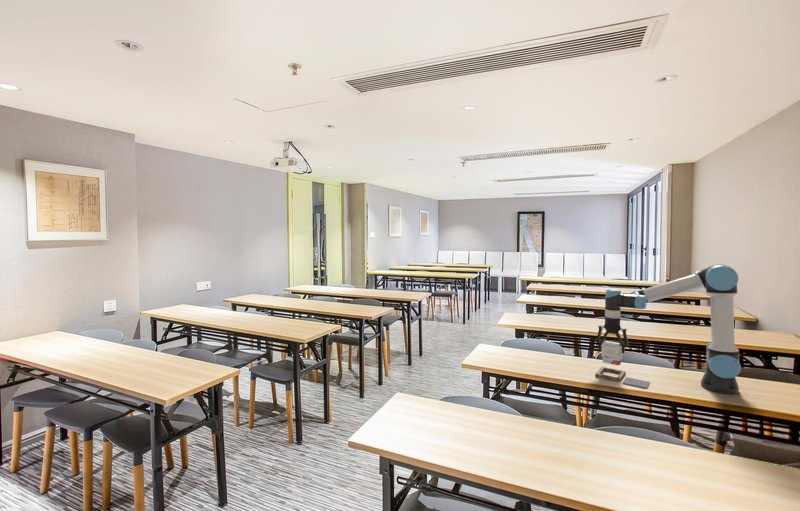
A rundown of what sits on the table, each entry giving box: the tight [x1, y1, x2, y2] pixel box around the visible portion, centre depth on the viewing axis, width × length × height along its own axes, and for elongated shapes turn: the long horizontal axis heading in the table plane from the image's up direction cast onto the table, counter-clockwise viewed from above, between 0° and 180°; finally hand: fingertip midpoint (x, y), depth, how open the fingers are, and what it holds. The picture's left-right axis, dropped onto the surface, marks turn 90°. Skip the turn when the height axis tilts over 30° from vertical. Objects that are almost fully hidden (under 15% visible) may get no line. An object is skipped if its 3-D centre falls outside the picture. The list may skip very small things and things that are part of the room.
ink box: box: [602, 340, 622, 366], centre depth 215 cm, size 9×5×12 cm, turn 48°
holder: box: [595, 366, 627, 383], centre depth 215 cm, size 12×16×2 cm
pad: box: [622, 376, 651, 390], centre depth 204 cm, size 11×11×1 cm
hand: (611, 357), depth 215 cm, fingers closed on ink box, 8 cm apart
